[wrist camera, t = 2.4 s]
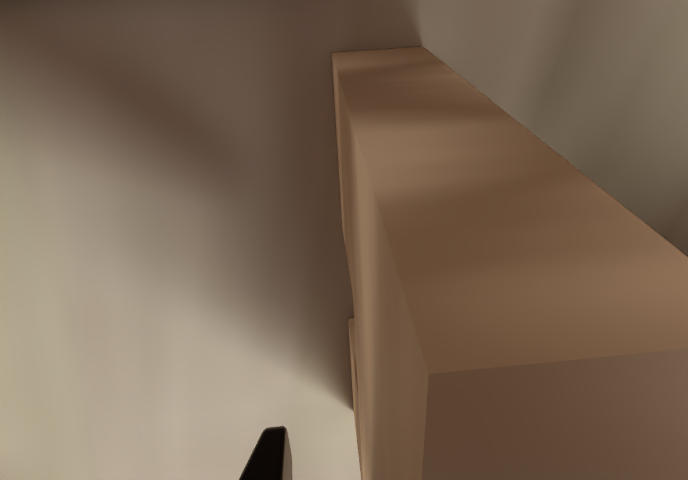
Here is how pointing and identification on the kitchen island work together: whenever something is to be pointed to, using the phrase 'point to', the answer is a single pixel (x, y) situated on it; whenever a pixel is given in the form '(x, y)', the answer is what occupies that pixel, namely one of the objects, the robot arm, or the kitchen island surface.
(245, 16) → the kitchen island surface
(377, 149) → the upright wooden plank
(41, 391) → the kitchen island surface
